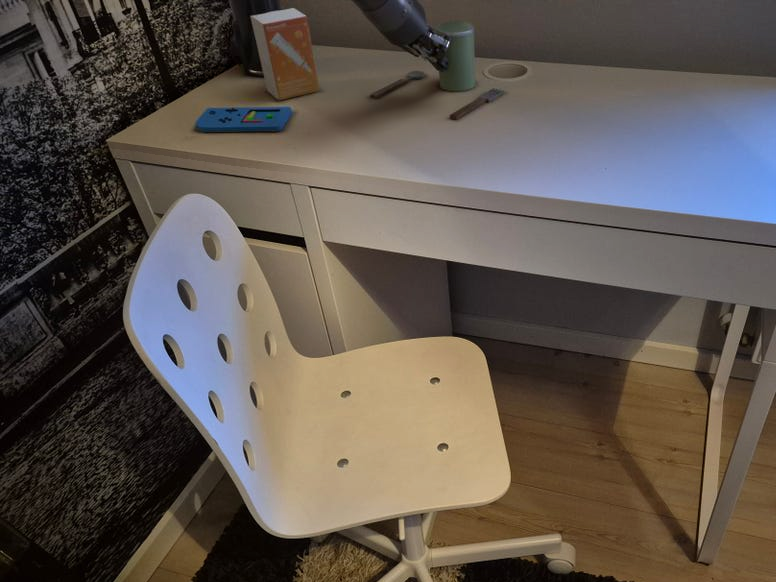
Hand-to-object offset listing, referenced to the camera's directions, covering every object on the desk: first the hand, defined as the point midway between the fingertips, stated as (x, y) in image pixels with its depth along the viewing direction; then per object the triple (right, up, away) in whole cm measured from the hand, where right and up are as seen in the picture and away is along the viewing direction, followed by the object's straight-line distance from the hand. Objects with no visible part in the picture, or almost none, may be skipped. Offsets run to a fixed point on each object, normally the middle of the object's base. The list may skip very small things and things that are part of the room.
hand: (443, 66), depth 119 cm
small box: (-28, -3, +5) cm, 29 cm away
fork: (+6, -8, -2) cm, 10 cm away
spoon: (-9, -1, +6) cm, 11 cm away
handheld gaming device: (-34, -12, -5) cm, 36 cm away
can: (+2, -1, +5) cm, 6 cm away
